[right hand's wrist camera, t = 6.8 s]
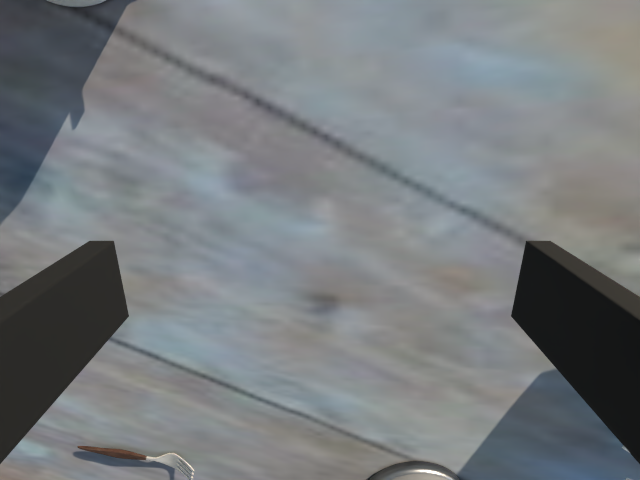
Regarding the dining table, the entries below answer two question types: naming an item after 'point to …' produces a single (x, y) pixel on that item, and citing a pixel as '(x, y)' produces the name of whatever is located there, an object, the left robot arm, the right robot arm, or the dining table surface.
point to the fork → (144, 458)
